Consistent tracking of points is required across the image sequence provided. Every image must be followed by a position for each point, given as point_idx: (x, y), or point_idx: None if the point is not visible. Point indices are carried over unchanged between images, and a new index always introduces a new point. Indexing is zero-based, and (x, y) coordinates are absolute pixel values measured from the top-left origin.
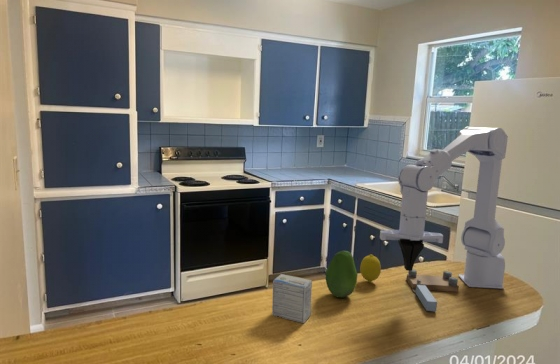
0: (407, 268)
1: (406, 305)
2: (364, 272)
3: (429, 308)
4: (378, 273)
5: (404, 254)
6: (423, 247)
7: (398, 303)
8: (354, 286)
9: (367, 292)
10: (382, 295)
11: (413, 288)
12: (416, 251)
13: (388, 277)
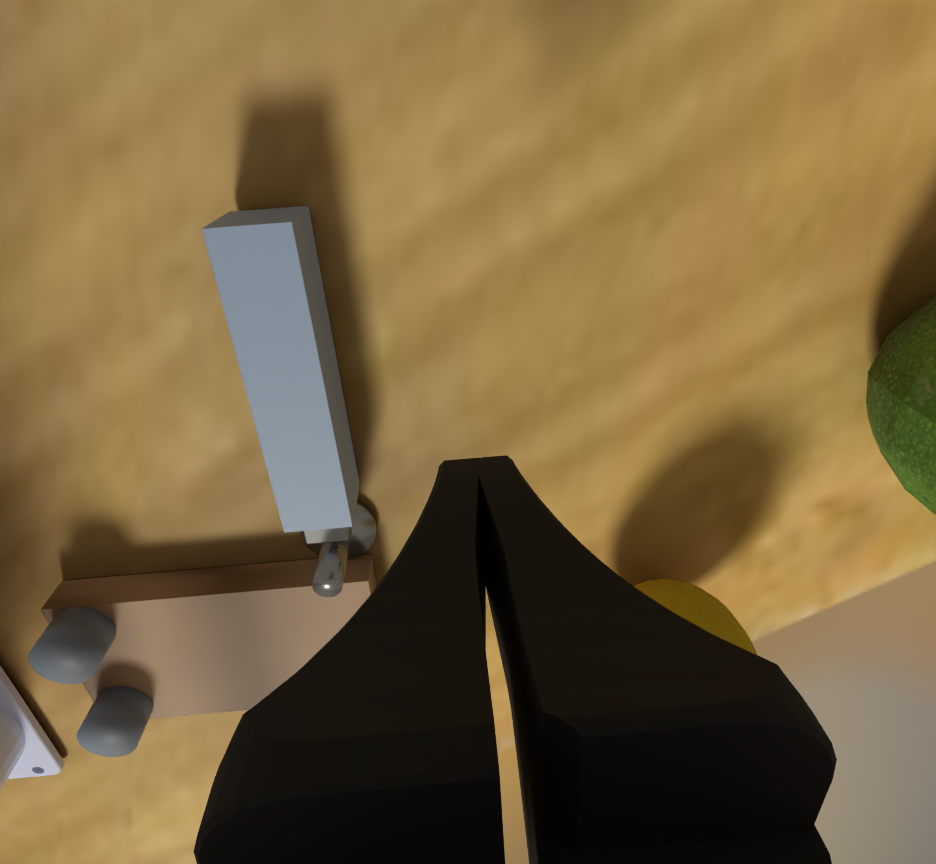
0: (504, 463)
1: (456, 294)
2: (729, 614)
3: (283, 210)
4: None
5: (624, 586)
6: (227, 751)
7: (513, 316)
8: (929, 341)
9: (701, 445)
10: (604, 421)
11: (365, 557)
12: (407, 646)
13: (502, 668)
